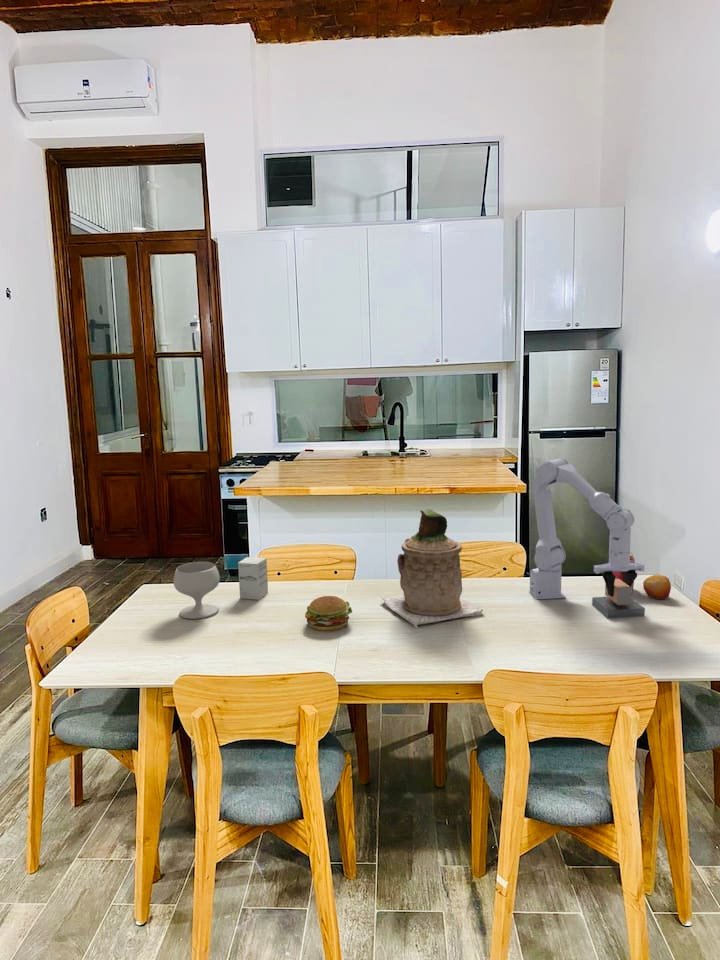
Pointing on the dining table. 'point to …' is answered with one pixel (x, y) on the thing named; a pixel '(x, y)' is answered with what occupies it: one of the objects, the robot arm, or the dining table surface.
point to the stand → (617, 608)
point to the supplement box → (253, 578)
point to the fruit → (657, 586)
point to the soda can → (619, 574)
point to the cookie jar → (430, 576)
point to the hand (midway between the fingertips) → (618, 594)
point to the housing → (620, 593)
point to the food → (328, 613)
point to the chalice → (197, 587)
